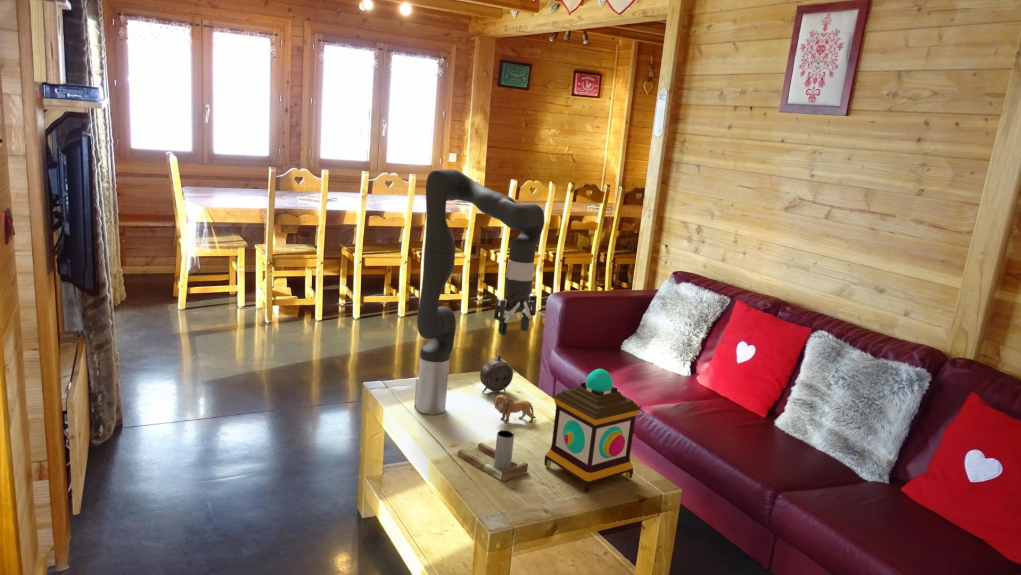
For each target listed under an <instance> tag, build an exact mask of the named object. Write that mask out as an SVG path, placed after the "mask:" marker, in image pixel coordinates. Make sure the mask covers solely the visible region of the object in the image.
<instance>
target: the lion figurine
mask: <svg viewBox="0 0 1021 575" xmlns="http://www.w3.org/2000/svg"><path fill="white" fill-rule="evenodd" d="M493 405H494V408H495V410H496V411H498V412H499V413H500V414H502V417H500V421H504V423H505V424H509V421H510V416H511V414H516V413H519V412H522V414H521V416H518V419H519V420H523V419H524V418H525V417H526V416H528V417H529V418H530V419H529V421H528V422H529V423H530V424H533V423H534V419H537V417H536V416H535V415H534V414H535V413H534V407H533V405H532V403H531V402H530V401H528V400H519V401H514V400H512V399H511V398H510V397H508V396H506V395H505V394H499V395H497V396H496V397H495V398H494V404H493Z"/></svg>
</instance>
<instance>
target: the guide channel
mask: <svg viewBox="0 0 1021 575" xmlns="http://www.w3.org/2000/svg"><path fill="white" fill-rule="evenodd" d="M477 445H478V446H477V449H478V450H480V451H482V452H484V453H485V454H486V455H489V456H491V457H492V458H494V459H495V450H496V449H494V448H492V447H491V446H488V445H486V444H485V443H483V442H478V444H477ZM457 456H458V457H460V458H462V459H463V460H464V461H466V462H468V463H470V464H472V465H473V466H476V467H477V468H479V469H480V470H483V471H484V472H486V473H488V474H489V475H491V476H493V477H495V478H497V479H498V480H501V481H502V482H507V481H509V480H512V479H514V478H515V477H518V476H522V475H524V474H526V473H528V467H529V463H528V462H525V461H524V462H522V463H521V462H520V461H517V460H515V459H513V458H512V460H511V468H509V469H507V470H504V471H502V472H501V471H499V470H498V469H496V468H494V466H492V465H490V464H489V463H487V462H485V461H484V460H481V459H479V458H478V457H476V456H474V455H473V454H471V453H469V452H467V451H464V449H458V450H457Z"/></svg>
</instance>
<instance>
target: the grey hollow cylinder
mask: <svg viewBox="0 0 1021 575" xmlns="http://www.w3.org/2000/svg"><path fill="white" fill-rule="evenodd" d="M514 440H515V433H514V432H512V431H511V430H503V429H502V430H499V431H497V433H496V443H495V449H494V450H495V458H494V461H493V467H494V468H496V469H498V470H499V471H501V472H502V471H504V470H507V469H509V468H512V467H511V460H512V459H513V452H514V450H513V449H514Z"/></svg>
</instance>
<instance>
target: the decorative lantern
mask: <svg viewBox="0 0 1021 575" xmlns="http://www.w3.org/2000/svg"><path fill="white" fill-rule="evenodd" d="M613 383H614V382H613V377H612V376H611V375H610V373H609V372H608V371H607V370H605V369H603V368H597V369H594V370H593V371H592V372H590V373H589V374H588V376H586V381H585V382H581V383H580V385H578V386H576V387H573V388H569V389H564V390H562V391H561V392H557V393H556V395H553V397H552V398H553V401H554V403H555V415H554V421H553V432H552V438H551V439H552V440H551V447H550V448H549V449H548V451H547V452H546V454H545V456H544V462H543V463H544V467H546V468H549V467H551V464H552V463H553V464H555V465H556V466H558V467H559V468H561V469H563V470H564V471H565V472H567V473H569V474H570V475H572V476H574V477H575V478H577V479H578V480H580V481H581V482H582V483H583V492H584V493H585V494H587V493H589V491H590V489H591V486H592V485H593V484H594V483H596V482H597V483H598V482H600V481H603V480H606V479H610V478H613V477H616V476H620V475H623V474H625V478H631V479H632V478H633V475H634V468H633V463H632V461H631V457H630V456H631V450H632V443H633V437H634V431H635V424H636V423H635V422H636V418H637V416H638V415H639V413H640V411H641V410H642V409H641V407H640V406H639V404H637V403H636V402H635V401H634V400H633V399H631V398H629V397H627V396H625V395H624V394H623V395H622V393H621V392H620V391H619V390H618V388H617V387H615V386H613V385H614V384H613Z"/></svg>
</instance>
